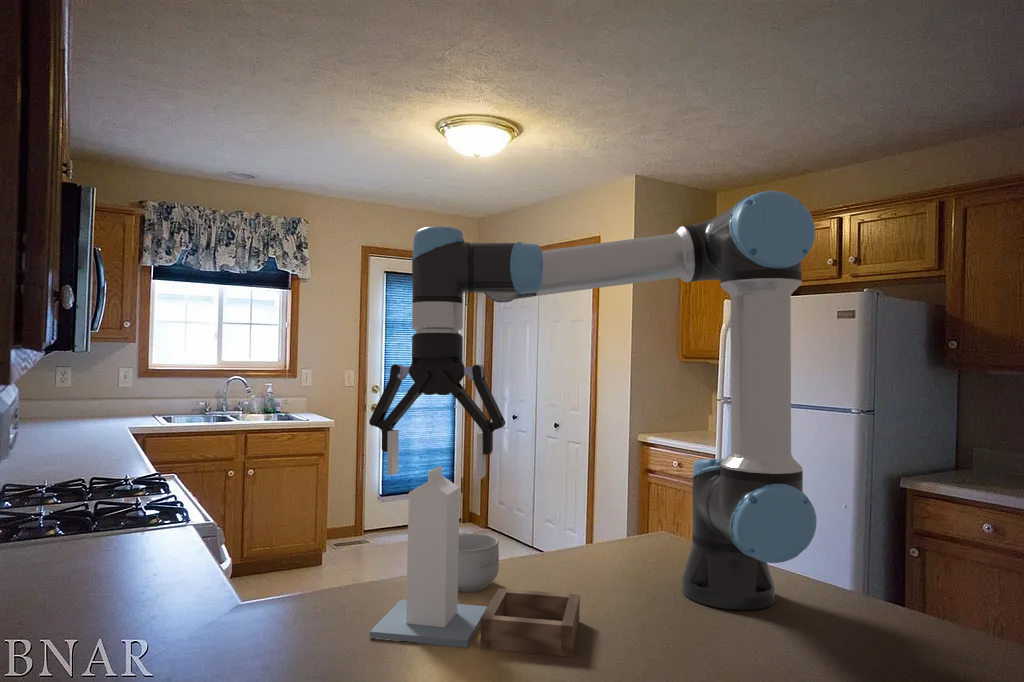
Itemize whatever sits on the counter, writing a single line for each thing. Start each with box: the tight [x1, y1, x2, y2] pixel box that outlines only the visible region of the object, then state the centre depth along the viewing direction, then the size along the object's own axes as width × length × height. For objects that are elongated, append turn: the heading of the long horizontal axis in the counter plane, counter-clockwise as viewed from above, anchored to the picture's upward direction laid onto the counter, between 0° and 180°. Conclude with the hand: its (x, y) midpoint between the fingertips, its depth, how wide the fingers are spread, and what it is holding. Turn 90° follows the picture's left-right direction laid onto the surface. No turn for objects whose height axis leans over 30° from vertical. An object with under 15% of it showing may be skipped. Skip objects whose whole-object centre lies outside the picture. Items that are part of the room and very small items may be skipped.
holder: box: [479, 588, 581, 658], centre depth 97 cm, size 12×12×4 cm
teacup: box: [458, 531, 500, 593], centre depth 119 cm, size 14×11×8 cm
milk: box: [405, 465, 461, 628], centre depth 100 cm, size 6×6×22 cm
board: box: [369, 599, 488, 649], centre depth 100 cm, size 14×13×1 cm
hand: (436, 475), depth 100 cm, fingers open, 13 cm apart
